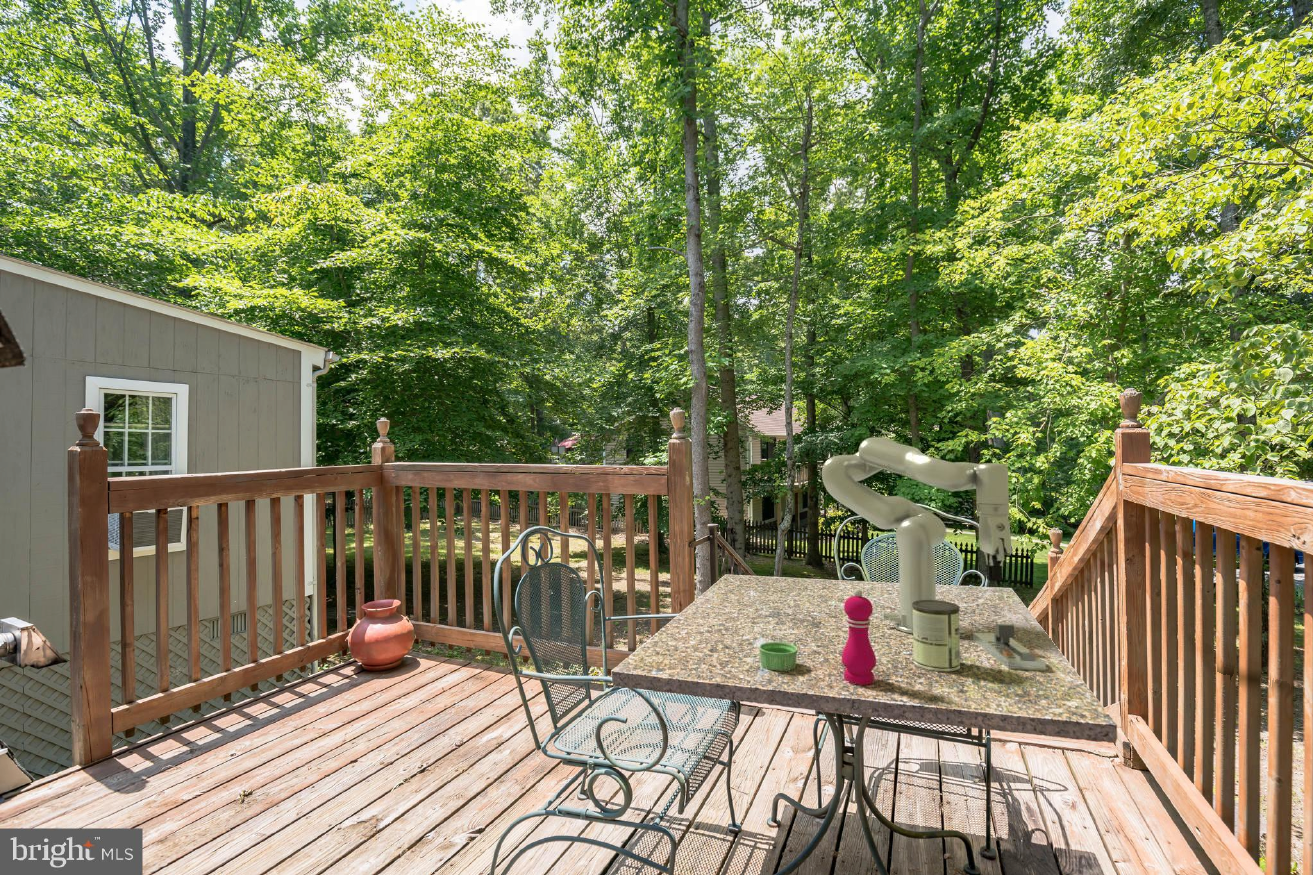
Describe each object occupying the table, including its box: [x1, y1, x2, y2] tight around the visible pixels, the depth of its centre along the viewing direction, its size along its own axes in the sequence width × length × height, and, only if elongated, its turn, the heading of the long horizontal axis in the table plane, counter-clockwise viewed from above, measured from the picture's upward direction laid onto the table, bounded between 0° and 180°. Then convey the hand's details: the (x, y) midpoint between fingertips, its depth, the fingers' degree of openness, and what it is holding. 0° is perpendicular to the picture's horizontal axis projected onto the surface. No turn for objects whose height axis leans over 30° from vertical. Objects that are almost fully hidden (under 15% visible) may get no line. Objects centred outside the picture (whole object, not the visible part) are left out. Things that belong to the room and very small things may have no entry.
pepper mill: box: [841, 588, 877, 686], centre depth 143 cm, size 7×7×20 cm
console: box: [972, 632, 1046, 671], centre depth 161 cm, size 8×23×4 cm, turn 173°
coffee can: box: [912, 599, 961, 673], centre depth 153 cm, size 10×10×14 cm
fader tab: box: [995, 622, 1015, 643], centre depth 163 cm, size 4×2×5 cm, turn 83°
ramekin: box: [758, 641, 799, 671], centre depth 153 cm, size 9×9×4 cm
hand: (994, 580), depth 170 cm, fingers closed
